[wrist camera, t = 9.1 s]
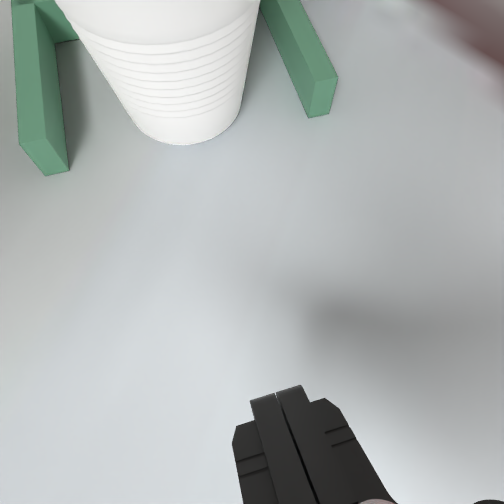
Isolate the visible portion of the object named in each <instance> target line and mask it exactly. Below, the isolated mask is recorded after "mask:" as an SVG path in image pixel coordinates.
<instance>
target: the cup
mask: <svg viewBox="0 0 504 504" xmlns="http://www.w3.org/2000/svg"><path fill="white" fill-rule="evenodd" d="M55 2H56V4H57V5H58V7H59V8H60V9H61V10H62V11H63V12H64V15H65V17H66V19H67V20H68V21H69V22H70V23H71V25H72V27H73V29H74V31H75V32H76V33H77V34H78V36H79V38H80V40H81V41H82V42H83V44H84V45H85V48H86V49H87V51H88V52H89V53H90V55H91V57H92V59H93V60H94V61H95V62H96V64H97V66H98V68H99V69H100V70H101V72H102V74H103V76H104V77H105V78H106V79H107V81H108V83H109V85H110V86H111V87H112V89H113V91H114V92H115V93H116V95H117V97H118V99H119V101H120V102H121V104H122V105H123V107H124V108H125V110H126V111H127V113H128V114H129V116H130V117H131V119H132V121H133V122H134V123H135V125H136V126H137V127H138V128H139V129H140V130H141V131H142V132H143V133H145V134H146V135H147V136H149V137H151V138H153V139H155V140H157V141H160V142H163V143H167V144H174V145H191V144H196V143H201V142H204V141H207V140H209V139H212V138H214V137H216V136H217V135H219V134H221V133H222V132H224V131H225V130H226V129H227V128H228V127H229V126H230V125H231V124H232V123H233V121H234V120H235V119H236V117H237V115H238V113H239V110H240V106H241V101H242V95H243V90H244V85H245V79H246V74H247V68H248V63H249V58H250V52H251V47H252V42H253V36H254V31H255V26H256V20H257V15H258V10H259V4H260V0H55Z"/></svg>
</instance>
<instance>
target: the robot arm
mask: <svg viewBox="0 0 504 504" xmlns="http://www.w3.org/2000/svg"><path fill="white" fill-rule="evenodd" d="M276 396H277V398H276ZM250 404H251V408H252V412H253V416H254V421H251V422H247V423H244V424H241V425H238V426H236V430H235V433H234V437H233V441H232V447H233V452H234V457H235V462H236V467H237V472H238V477H239V483H240V488H241V493H242V498H243V503H244V504H398V503H396V502H395V501H394V500H393V499H392V497H391V496H390V495H389V494H388V492H387V491H386V489H385V487H384V485H383V484H382V482H381V480H380V478H379V477H378V475H377V473H376V472H375V470H374V468H373V466H372V465H371V463H370V461H369V459H368V458H367V456H366V454H365V452H364V451H363V449H362V447H361V445H360V444H359V442H358V441H357V440H356V437H355V435H354V433H353V432H352V430H351V428H349V425H348V423H347V421H346V419H345V418H344V416H343V414H342V413H341V411H340V409H339V408H338V407H336V406H335V405H334V404H332V403H331V402H330V401H328V400H327V399H326V398H323V399H320V400H316V401H313V402H309V400H308V398H307V395H306V393H305V391H304V389H303V387H302V386H301V385H298V386H295V387H292V388H288V389H285V390H282V391H279V392H276V395H275V393H273V394H269V395H266V396H263V397H260V398H256V399H253V400H250ZM474 504H504V502H503V501H499V500H482V501H478V502H476V503H474Z"/></svg>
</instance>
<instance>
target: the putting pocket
mask: <svg viewBox="0 0 504 504" xmlns="http://www.w3.org/2000/svg"><path fill="white" fill-rule="evenodd" d="M259 6H260V9H261V11H262V13H263V15H264V18H265V20H266V22H267V25H268V27H269V29H270V31H271V34H272V36H273V38H274V41H275V43H276V45H277V47H278V50H279V52H280V54H281V57H282V59H283V61H284V63H285V66H286V68H287V70H288V73H289V75H290V77H291V79H292V82H293V84H294V86H295V89H296V91H297V93H298V96H299V98H300V100H301V102H302V105H303V107H304V109H305V112H306V114H307V116H308V118H312V117H316V116H321V115H325V114H329V111H330V107H331V103H332V99H333V95H334V92H335V88H336V84H337V80H338V76H337V74H336V72H335V70H334V68H333V66H332V64H331V62H330V60H329V58H328V56H327V54H326V52H325V50H324V48H323V46H322V44H321V42H320V40H319V38H318V36H317V34H316V32H315V30H314V28H313V26H312V24H311V22H310V20H309V18H308V16H307V14H306V12H305V10H304V8H303V6H302V4H301V2H300V0H260V4H259ZM11 8H12V26H13V45H14V63H15V82H16V100H17V119H18V137H19V145H20V146H21V147H22V148H23V149H24V151H25V152H26V153H27V154H28V156H29V157H30V158H31V159H32V160H33V162H34V163H35V164H36V165H37V167H38V168H39V169H40V170H41V171H42V173H43V174H44V175H45V176H47V175H52V174H56V173H61V172H65V171H69V166H68V157H67V149H66V140H65V131H64V122H63V113H62V105H61V96H60V87H59V78H58V70H57V61H56V52H55V43H59V42H64V41H70V40H75V39H80V38H79V36H78V34H77V33H76V32H75V31H74V29H73V27H72V25H71V23H70V22H69V21H68V20H67V19H66V17H65V15H64V12H63V11H62V10H61V9H60V8H59V7H58V5H57V4H56V2H55V0H11Z"/></svg>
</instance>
